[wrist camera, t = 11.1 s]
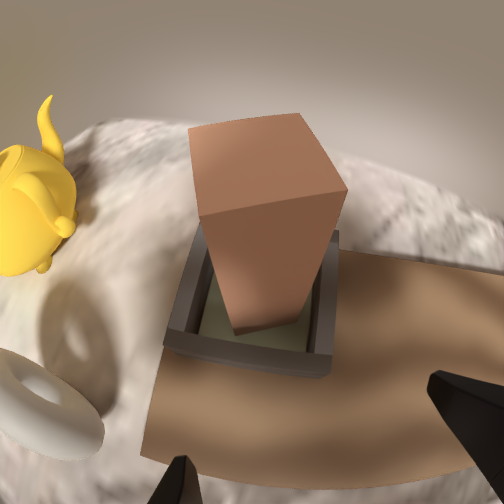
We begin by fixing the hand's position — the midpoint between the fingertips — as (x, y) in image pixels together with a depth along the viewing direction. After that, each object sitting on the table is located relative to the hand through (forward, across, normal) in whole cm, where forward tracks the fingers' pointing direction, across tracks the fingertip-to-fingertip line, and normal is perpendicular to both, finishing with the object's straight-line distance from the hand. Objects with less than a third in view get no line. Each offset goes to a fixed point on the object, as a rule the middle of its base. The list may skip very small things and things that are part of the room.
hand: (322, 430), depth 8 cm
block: (+11, 0, 0) cm, 11 cm away
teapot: (+21, +20, -7) cm, 30 cm away
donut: (+9, +16, +5) cm, 19 cm away
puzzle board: (+6, -13, +8) cm, 16 cm away
